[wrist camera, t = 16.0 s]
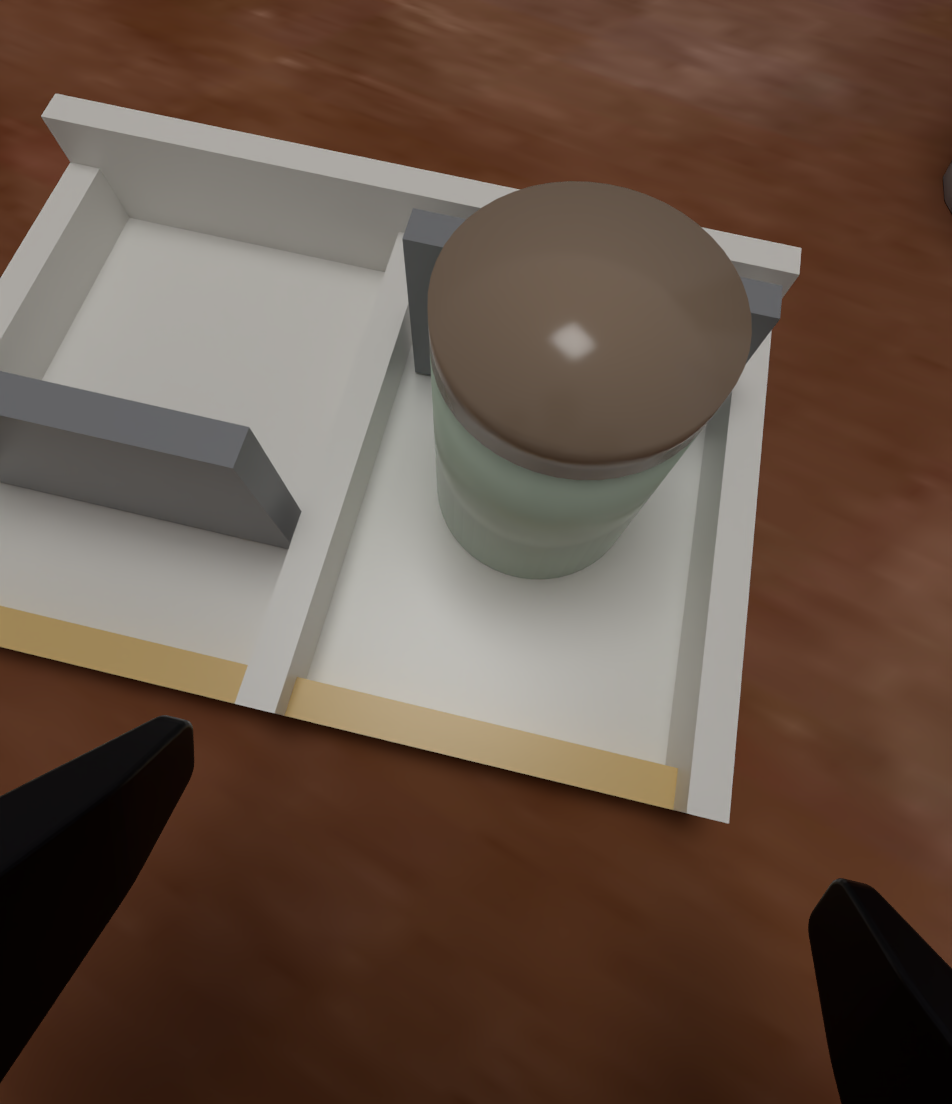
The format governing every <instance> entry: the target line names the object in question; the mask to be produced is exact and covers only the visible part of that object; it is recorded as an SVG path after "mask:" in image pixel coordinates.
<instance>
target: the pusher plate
mask: <svg viewBox="0 0 952 1104" xmlns="http://www.w3.org/2000/svg"><path fill="white" fill-rule="evenodd" d="M465 220H466V219H463V218H458V217H453V216H448V215H444V214H439V213H434V212H429V211H424V210H420V209H415V208H413V209H412V212H411V215H410V218H409V221H408V224H407V227H406V230H405V232H404V235H403V238H402V241H403V251H404V262H405V272H406V282H407V293H408V303H409V314H410V324H411V335H412V345H413V355H414V366H415V372H417V373H421V374H426V375H430V376H431V366H430V348H429V330H428V311H427V309H428V289H429V283H430V277H431V274H432V271H433V268H434V265H435V262H436V260H437V258H438V256H439V254H440V252H441V250H442V248H443V247H444V245H445V243H446V242H447V241H448V239H449V238H450V237H451V235H452V234H453V233H454V231H455V230H456V229H457V228H458V227H459V226H460V225H461V224H462V223H463V222H464V221H465ZM740 278H741V280H742V283H743V285H744V288H745V291H746V294H747V297H748V301H749V306H750V312H751V323H752V336H751V344H750V351H749V354H748V358H747V361H746V363H747V362H748V361H749V359H750V358H751V357H752V355H753V354H754V353H755V351H756V350H757V349H758V347H759V346H760V345H761V343H762V342H763V341H764V339H765V338H766V337H767V335H768V334H769V333H770V331H771V330H772V329H773V327H774V326H775V325H776V323H777V322H778V321H779V319H780V312H781V300H782V288H783V286H782V285H777V284H773V283H768V282H763V281H758V280H753V279H749V278H744V277H740ZM745 365H746V364H745Z"/></svg>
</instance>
